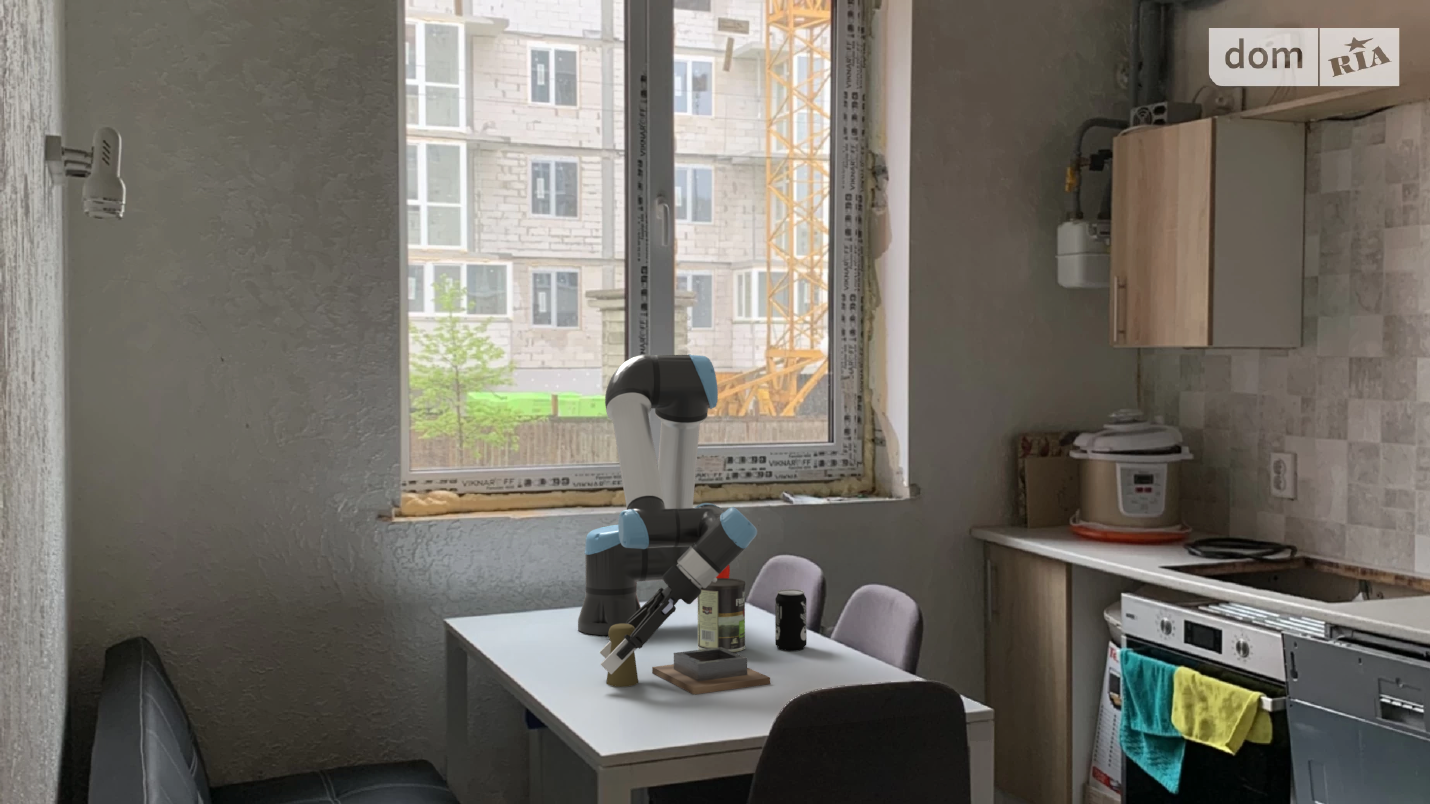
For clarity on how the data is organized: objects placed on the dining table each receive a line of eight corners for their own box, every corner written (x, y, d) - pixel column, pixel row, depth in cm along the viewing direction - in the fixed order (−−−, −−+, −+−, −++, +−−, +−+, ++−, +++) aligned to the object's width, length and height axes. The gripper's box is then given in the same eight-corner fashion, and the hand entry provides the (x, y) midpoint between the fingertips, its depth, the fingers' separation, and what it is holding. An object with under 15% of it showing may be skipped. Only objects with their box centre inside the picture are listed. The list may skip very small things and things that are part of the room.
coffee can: (749, 643, 262) (749, 578, 262) (740, 654, 252) (740, 586, 252) (702, 641, 264) (702, 577, 264) (692, 652, 254) (691, 585, 254)
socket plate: (652, 673, 236) (652, 650, 236) (725, 663, 244) (724, 641, 244) (693, 694, 220) (693, 670, 220) (770, 683, 228) (770, 660, 228)
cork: (643, 680, 231) (643, 622, 231) (630, 687, 225) (630, 628, 225) (614, 677, 233) (613, 620, 233) (601, 685, 227) (600, 626, 227)
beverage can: (797, 652, 253) (797, 595, 253) (769, 649, 257) (769, 592, 257) (811, 646, 259) (811, 590, 259) (784, 643, 262) (784, 587, 262)
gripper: (709, 600, 220) (621, 691, 218) (697, 580, 241) (617, 663, 240) (680, 572, 219) (591, 662, 217) (670, 554, 241) (590, 636, 239)
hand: (605, 662), depth 229 cm, fingers open, 9 cm apart
